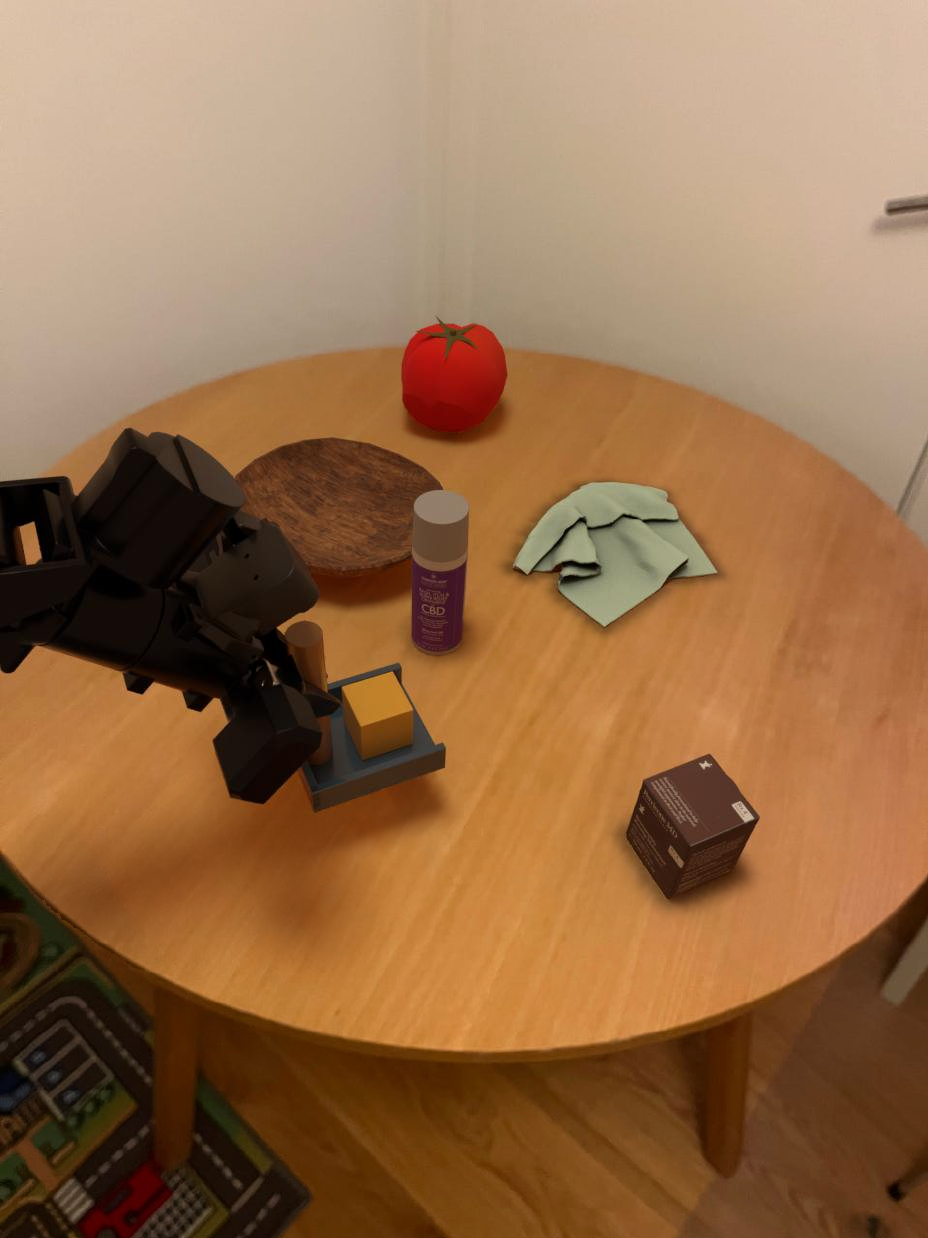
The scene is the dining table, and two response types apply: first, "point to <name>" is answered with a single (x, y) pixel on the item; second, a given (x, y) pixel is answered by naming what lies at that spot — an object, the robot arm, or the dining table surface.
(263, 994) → the dining table surface
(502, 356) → the tomato
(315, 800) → the tray with wooden peg
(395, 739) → the block
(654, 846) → the box
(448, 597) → the container
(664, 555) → the cloth
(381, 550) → the bowl
